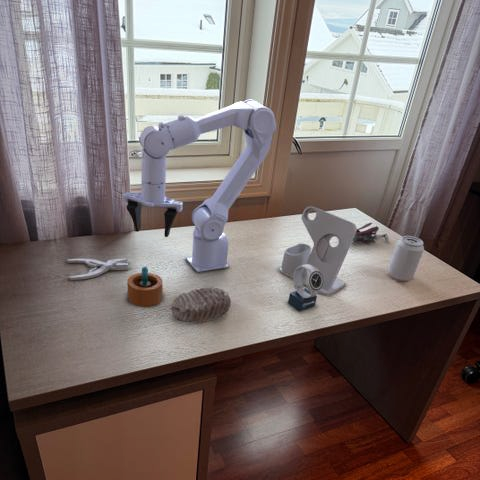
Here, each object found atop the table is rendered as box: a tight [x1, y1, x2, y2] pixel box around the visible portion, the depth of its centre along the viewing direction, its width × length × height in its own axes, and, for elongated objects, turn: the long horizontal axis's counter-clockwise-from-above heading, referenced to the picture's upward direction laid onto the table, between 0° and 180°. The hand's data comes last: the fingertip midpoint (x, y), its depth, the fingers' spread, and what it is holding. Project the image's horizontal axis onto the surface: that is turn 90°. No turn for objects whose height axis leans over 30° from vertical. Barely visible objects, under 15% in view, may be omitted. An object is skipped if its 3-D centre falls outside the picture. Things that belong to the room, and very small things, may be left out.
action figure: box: [352, 222, 390, 244], centre depth 149 cm, size 8×6×18 cm
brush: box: [140, 266, 151, 288], centre depth 106 cm, size 3×3×8 cm
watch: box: [287, 264, 324, 313], centre depth 111 cm, size 6×8×11 cm
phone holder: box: [279, 205, 358, 296], centre depth 121 cm, size 17×10×18 cm, turn 47°
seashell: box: [170, 286, 232, 323], centre depth 104 cm, size 14×9×10 cm
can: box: [387, 235, 425, 282], centre depth 129 cm, size 8×8×12 cm
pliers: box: [66, 257, 129, 281], centre depth 117 cm, size 10×2×15 cm
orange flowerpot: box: [126, 272, 164, 307], centre depth 108 cm, size 8×8×5 cm
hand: (152, 232), depth 115 cm, fingers open, 7 cm apart
